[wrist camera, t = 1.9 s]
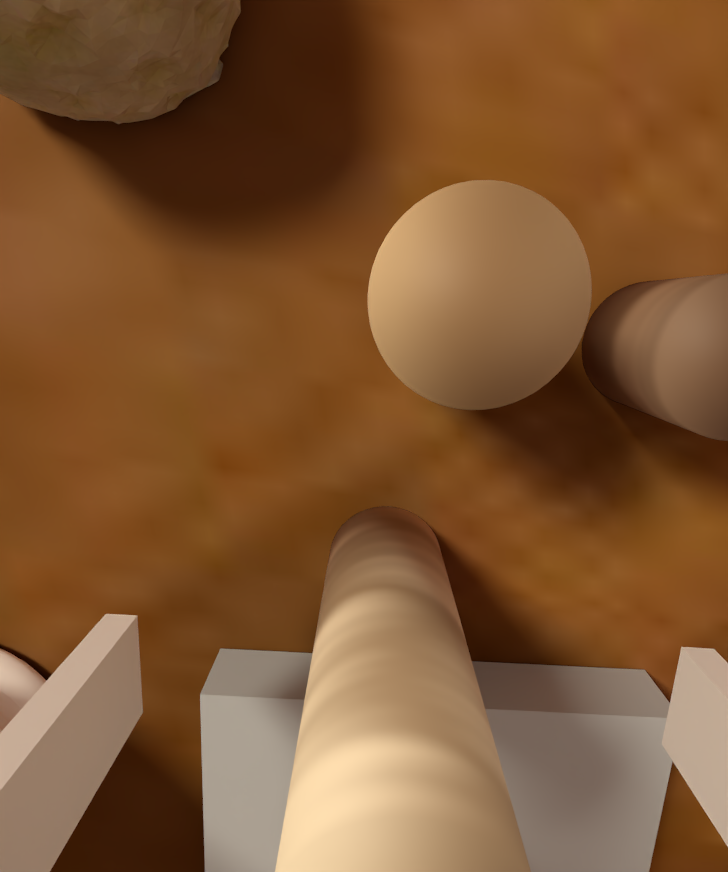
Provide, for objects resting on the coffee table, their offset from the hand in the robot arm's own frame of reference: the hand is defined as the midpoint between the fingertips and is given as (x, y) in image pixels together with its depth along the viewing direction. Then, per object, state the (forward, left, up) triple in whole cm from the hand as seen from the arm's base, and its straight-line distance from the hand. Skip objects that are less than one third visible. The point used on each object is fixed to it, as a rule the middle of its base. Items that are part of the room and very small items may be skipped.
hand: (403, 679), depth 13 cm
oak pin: (+1, +9, -7) cm, 11 cm away
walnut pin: (+8, +8, -7) cm, 13 cm away
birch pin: (0, 0, -7) cm, 7 cm away
